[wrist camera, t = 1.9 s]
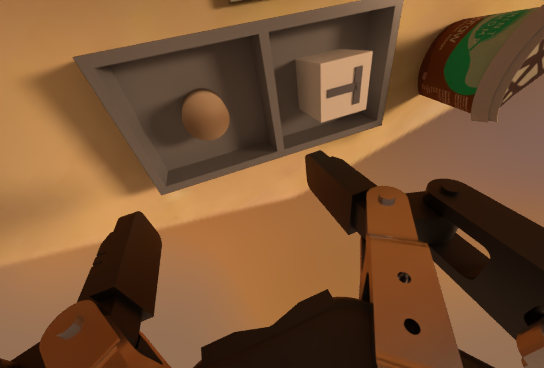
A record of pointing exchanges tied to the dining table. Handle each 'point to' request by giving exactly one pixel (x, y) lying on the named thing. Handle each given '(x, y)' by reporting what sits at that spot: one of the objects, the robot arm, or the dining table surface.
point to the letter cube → (333, 83)
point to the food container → (484, 61)
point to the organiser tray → (239, 89)
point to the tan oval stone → (204, 114)
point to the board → (232, 0)
